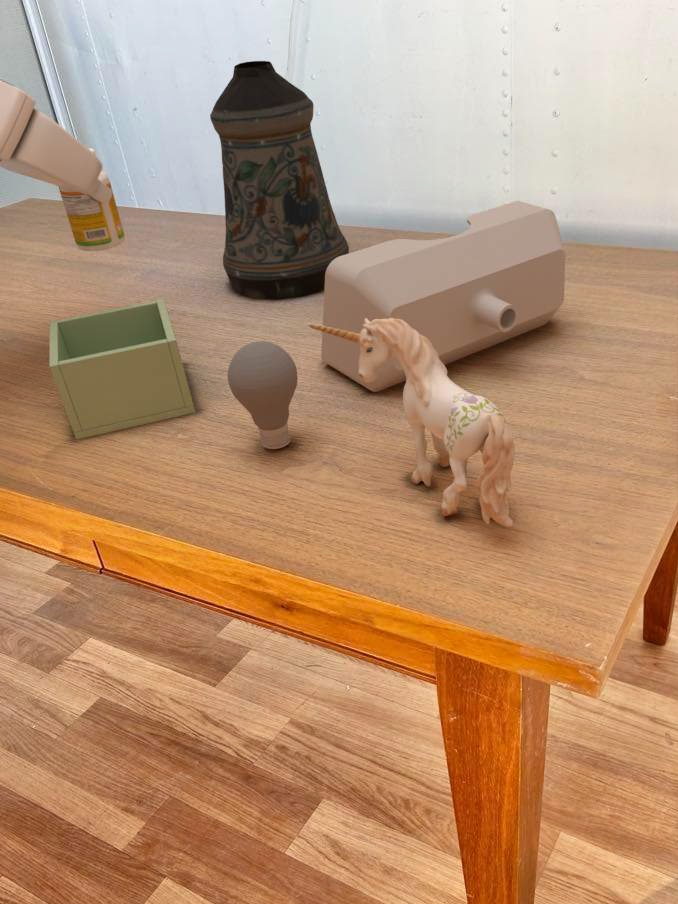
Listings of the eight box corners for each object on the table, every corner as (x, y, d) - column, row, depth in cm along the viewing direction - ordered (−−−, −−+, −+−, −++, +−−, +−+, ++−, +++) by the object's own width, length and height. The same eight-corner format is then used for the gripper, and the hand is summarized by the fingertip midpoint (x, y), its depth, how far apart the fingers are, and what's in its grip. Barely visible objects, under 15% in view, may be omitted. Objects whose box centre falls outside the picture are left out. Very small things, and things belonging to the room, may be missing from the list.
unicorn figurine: (387, 434, 78) (371, 293, 70) (562, 508, 66) (568, 350, 58) (329, 468, 74) (305, 323, 66) (504, 553, 62) (502, 390, 54)
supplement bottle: (105, 234, 99) (80, 144, 93) (135, 239, 96) (111, 148, 90) (67, 248, 95) (38, 156, 89) (97, 254, 93) (69, 160, 87)
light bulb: (232, 459, 76) (207, 357, 70) (263, 426, 81) (242, 327, 75) (291, 467, 74) (271, 362, 68) (319, 433, 79) (303, 332, 73)
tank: (407, 421, 79) (394, 292, 72) (320, 366, 90) (302, 249, 83) (598, 339, 90) (605, 219, 82) (500, 299, 101) (498, 190, 93)
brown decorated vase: (286, 310, 103) (245, 82, 88) (189, 283, 114) (138, 75, 99) (376, 267, 113) (354, 54, 98) (279, 245, 124) (245, 50, 109)
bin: (76, 440, 82) (49, 366, 77) (74, 390, 91) (49, 321, 86) (195, 412, 84) (176, 339, 79) (181, 366, 93) (163, 298, 88)
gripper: (-81, 132, 88) (39, 205, 99) (-1, 155, 76) (125, 235, 87) (-55, 76, 88) (62, 155, 99) (28, 90, 75) (152, 178, 86)
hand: (92, 193), depth 93 cm, fingers closed on supplement bottle, 5 cm apart
